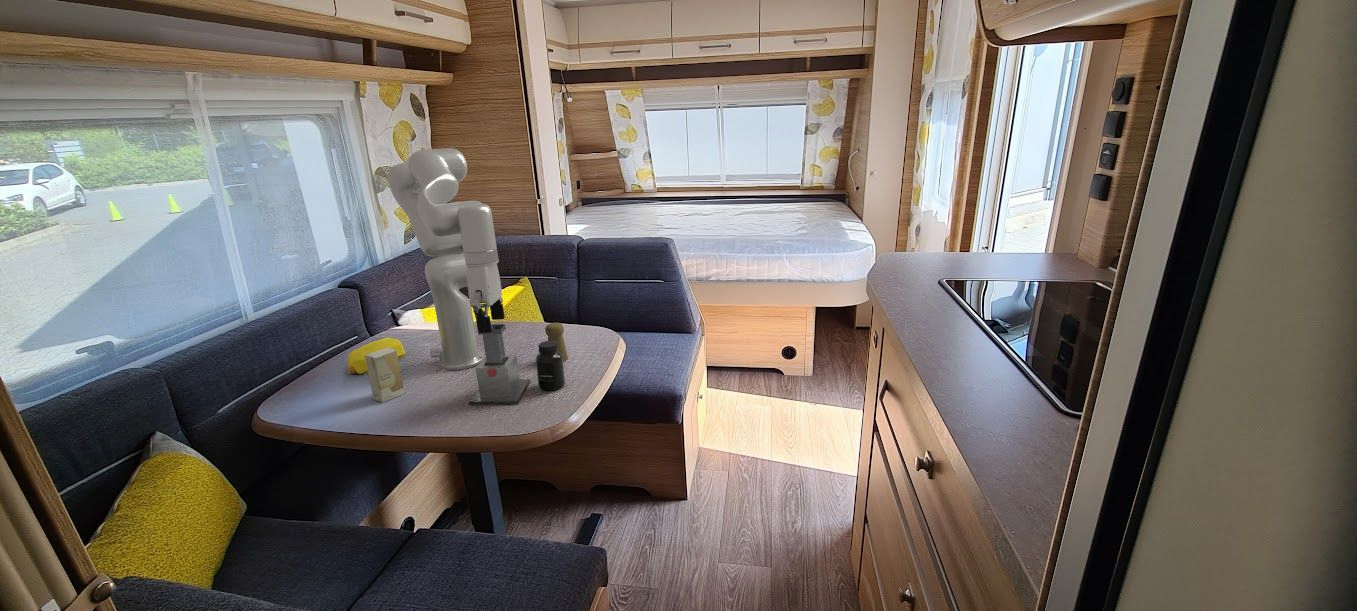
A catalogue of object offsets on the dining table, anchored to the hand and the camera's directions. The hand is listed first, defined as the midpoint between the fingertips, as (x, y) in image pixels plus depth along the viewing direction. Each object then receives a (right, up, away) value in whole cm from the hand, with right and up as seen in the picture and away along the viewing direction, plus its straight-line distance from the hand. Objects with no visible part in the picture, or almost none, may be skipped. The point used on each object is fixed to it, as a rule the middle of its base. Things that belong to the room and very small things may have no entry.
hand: (492, 325), depth 140 cm
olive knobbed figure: (+11, -11, +26) cm, 30 cm away
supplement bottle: (+13, -16, +9) cm, 23 cm away
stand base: (0, -18, +6) cm, 19 cm away
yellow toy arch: (-42, -13, +27) cm, 52 cm away
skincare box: (-29, -19, +7) cm, 35 cm away
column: (0, -16, +6) cm, 17 cm away
